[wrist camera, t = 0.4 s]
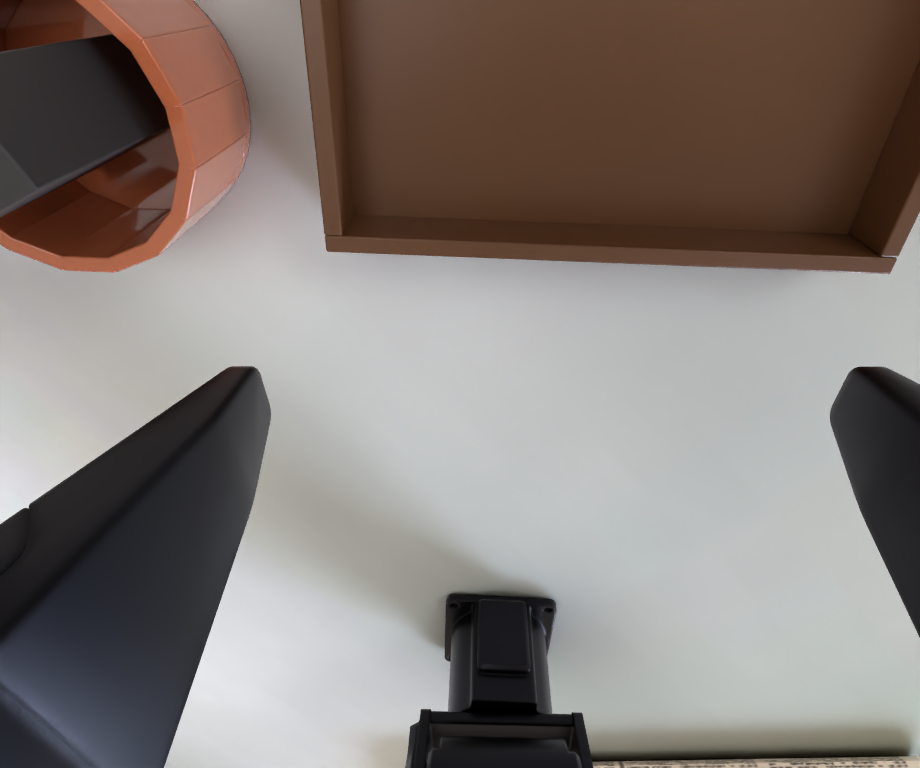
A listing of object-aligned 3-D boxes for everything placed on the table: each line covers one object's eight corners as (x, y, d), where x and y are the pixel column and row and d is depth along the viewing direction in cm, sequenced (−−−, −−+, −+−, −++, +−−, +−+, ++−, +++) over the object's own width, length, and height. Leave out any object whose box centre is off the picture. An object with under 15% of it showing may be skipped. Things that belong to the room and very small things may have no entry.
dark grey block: (204, 109, 20) (38, 190, 12) (96, 168, 21) (-112, 274, 14) (145, 16, 18) (-83, 45, 11) (32, 86, 20) (-240, 155, 12)
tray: (850, 244, 22) (890, 274, 20) (341, 224, 22) (325, 252, 20) (1091, -322, 14) (1204, -377, 12) (291, -346, 14) (256, -405, 12)
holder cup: (268, 221, 22) (219, 277, 18) (54, 213, 23) (-42, 266, 18) (225, -45, 18) (148, -50, 14) (-45, -54, 18) (-202, -62, 14)
